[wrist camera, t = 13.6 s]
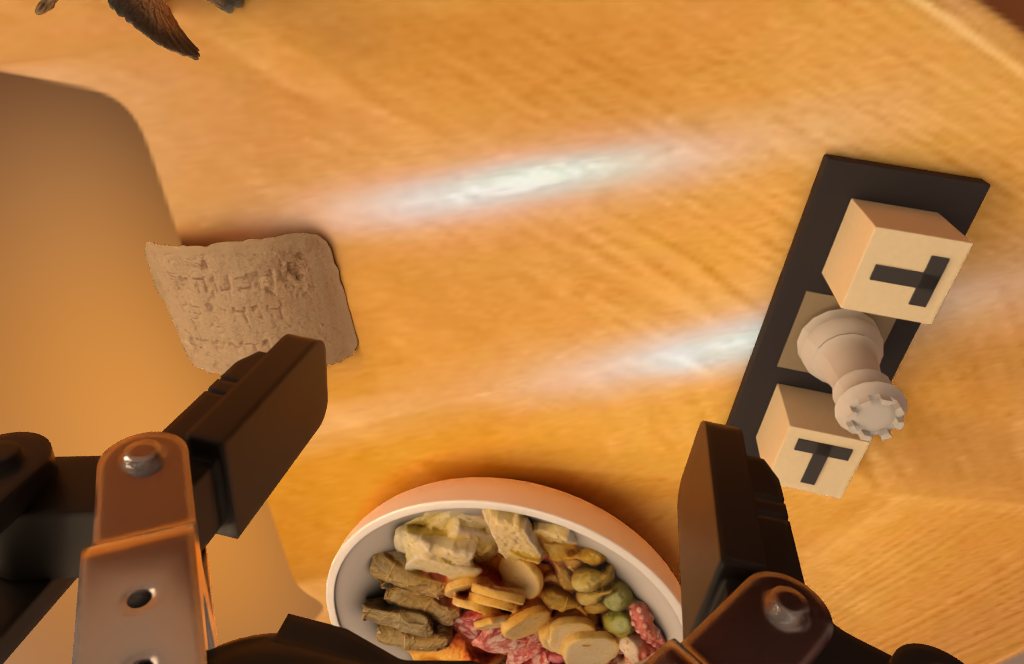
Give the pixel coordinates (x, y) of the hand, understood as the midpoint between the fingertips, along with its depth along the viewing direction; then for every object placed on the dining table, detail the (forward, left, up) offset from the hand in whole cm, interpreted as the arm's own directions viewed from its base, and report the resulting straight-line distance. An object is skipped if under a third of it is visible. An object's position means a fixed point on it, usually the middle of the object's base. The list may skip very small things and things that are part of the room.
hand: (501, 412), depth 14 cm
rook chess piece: (+9, +16, -25) cm, 31 cm away
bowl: (+39, 0, -26) cm, 47 cm away
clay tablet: (+15, -22, -26) cm, 37 cm away
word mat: (+9, +16, -26) cm, 32 cm away
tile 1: (+15, +16, -25) cm, 33 cm away
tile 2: (+3, +16, -25) cm, 30 cm away
